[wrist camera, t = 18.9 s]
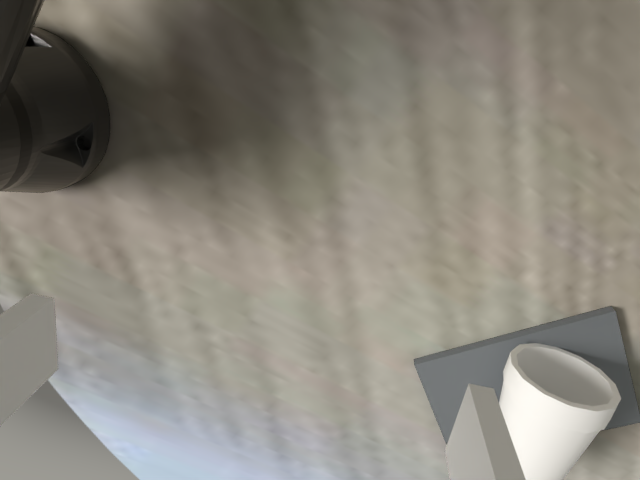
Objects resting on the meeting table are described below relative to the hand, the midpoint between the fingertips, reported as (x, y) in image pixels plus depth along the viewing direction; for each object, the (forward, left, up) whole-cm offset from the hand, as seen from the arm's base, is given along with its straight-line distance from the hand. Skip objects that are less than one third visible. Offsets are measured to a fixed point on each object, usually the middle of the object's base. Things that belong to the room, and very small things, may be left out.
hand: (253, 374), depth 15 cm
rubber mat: (+10, -30, -32) cm, 45 cm away
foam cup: (+6, -36, -26) cm, 45 cm away
